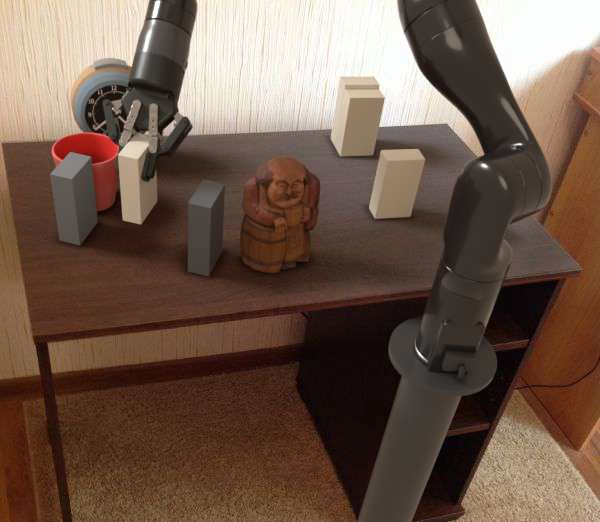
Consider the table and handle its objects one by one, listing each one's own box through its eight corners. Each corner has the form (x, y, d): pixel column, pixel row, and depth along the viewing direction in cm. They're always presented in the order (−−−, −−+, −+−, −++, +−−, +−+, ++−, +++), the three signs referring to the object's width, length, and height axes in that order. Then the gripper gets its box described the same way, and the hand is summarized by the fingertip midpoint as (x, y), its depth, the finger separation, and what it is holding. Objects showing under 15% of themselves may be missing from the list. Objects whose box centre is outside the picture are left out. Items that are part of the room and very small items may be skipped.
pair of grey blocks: (208, 276, 119) (211, 208, 110) (59, 240, 121) (49, 170, 111) (221, 251, 123) (225, 184, 114) (78, 217, 125) (69, 148, 116)
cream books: (410, 217, 137) (427, 152, 128) (374, 219, 135) (389, 154, 126) (362, 137, 155) (374, 76, 146) (330, 138, 153) (339, 76, 144)
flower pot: (52, 187, 130) (45, 134, 123) (115, 179, 134) (112, 128, 127) (65, 221, 124) (58, 168, 117) (131, 212, 128) (128, 160, 121)
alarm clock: (80, 172, 134) (69, 74, 122) (73, 144, 141) (62, 48, 128) (160, 167, 139) (157, 72, 126) (150, 140, 145) (147, 47, 132)
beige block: (141, 224, 115) (137, 159, 107) (122, 220, 115) (117, 154, 107) (157, 201, 119) (155, 136, 111) (139, 197, 120) (136, 132, 112)
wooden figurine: (253, 279, 119) (261, 178, 106) (235, 256, 123) (242, 156, 110) (316, 263, 124) (332, 165, 111) (298, 242, 128) (311, 144, 115)
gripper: (106, 40, 107) (78, 159, 107) (200, 60, 106) (172, 181, 106) (122, 63, 114) (96, 174, 115) (211, 82, 113) (184, 194, 114)
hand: (133, 177), depth 111 cm, fingers closed on beige block, 3 cm apart
